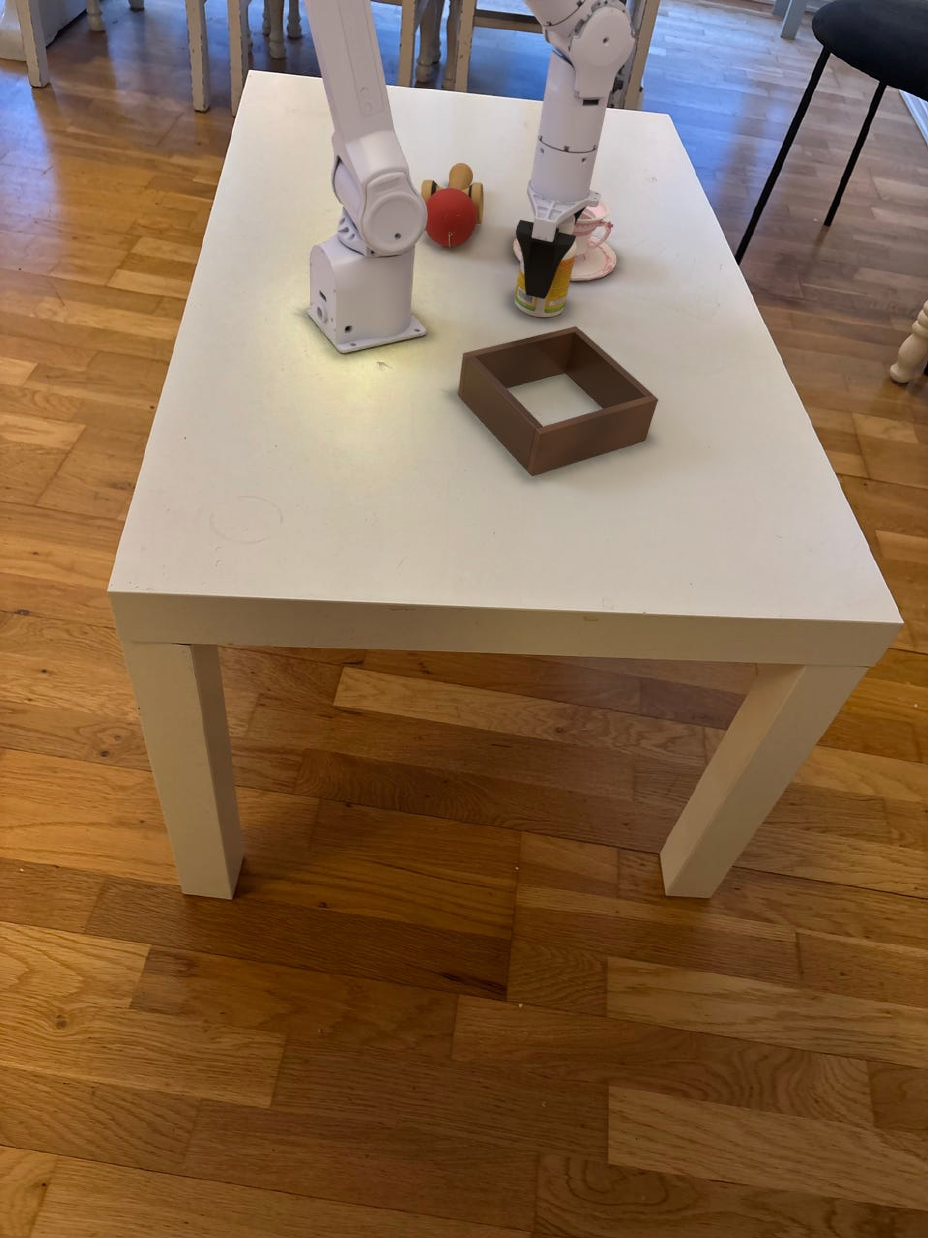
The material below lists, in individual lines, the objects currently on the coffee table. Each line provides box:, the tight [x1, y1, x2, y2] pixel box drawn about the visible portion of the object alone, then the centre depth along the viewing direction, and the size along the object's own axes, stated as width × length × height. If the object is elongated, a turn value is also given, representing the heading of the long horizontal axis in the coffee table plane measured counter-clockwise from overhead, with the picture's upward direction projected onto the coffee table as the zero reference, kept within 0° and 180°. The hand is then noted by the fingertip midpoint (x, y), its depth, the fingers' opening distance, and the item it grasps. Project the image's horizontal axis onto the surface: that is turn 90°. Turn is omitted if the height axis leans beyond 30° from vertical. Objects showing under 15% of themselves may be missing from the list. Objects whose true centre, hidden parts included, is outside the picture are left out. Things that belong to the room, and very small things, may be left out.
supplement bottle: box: [514, 215, 576, 318], centre depth 93 cm, size 5×5×10 cm
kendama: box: [420, 162, 485, 248], centre depth 106 cm, size 8×6×18 cm
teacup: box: [512, 197, 617, 282], centre depth 102 cm, size 12×12×6 cm
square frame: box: [457, 325, 659, 476], centre depth 82 cm, size 13×13×4 cm
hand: (542, 277), depth 94 cm, fingers open, 7 cm apart
